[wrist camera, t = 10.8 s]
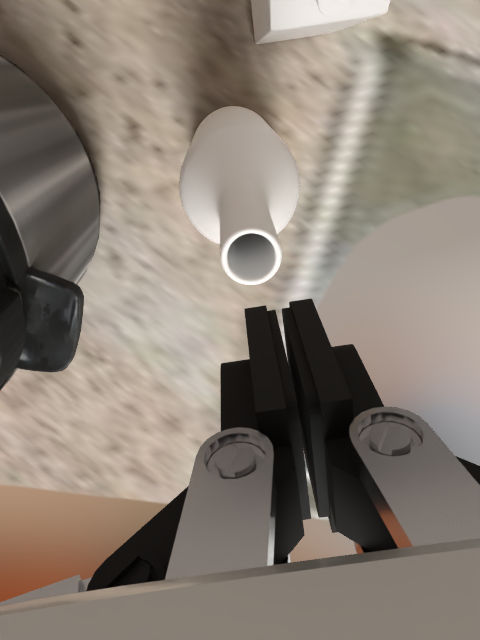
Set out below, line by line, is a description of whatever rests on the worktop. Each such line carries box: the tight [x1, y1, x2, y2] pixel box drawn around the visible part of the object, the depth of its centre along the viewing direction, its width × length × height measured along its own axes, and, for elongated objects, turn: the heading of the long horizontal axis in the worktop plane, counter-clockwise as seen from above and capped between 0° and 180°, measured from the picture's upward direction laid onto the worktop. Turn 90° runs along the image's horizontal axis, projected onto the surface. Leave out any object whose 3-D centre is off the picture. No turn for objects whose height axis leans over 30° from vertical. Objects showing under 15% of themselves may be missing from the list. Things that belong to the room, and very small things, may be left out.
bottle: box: [179, 106, 300, 285], centre depth 32 cm, size 8×8×30 cm
